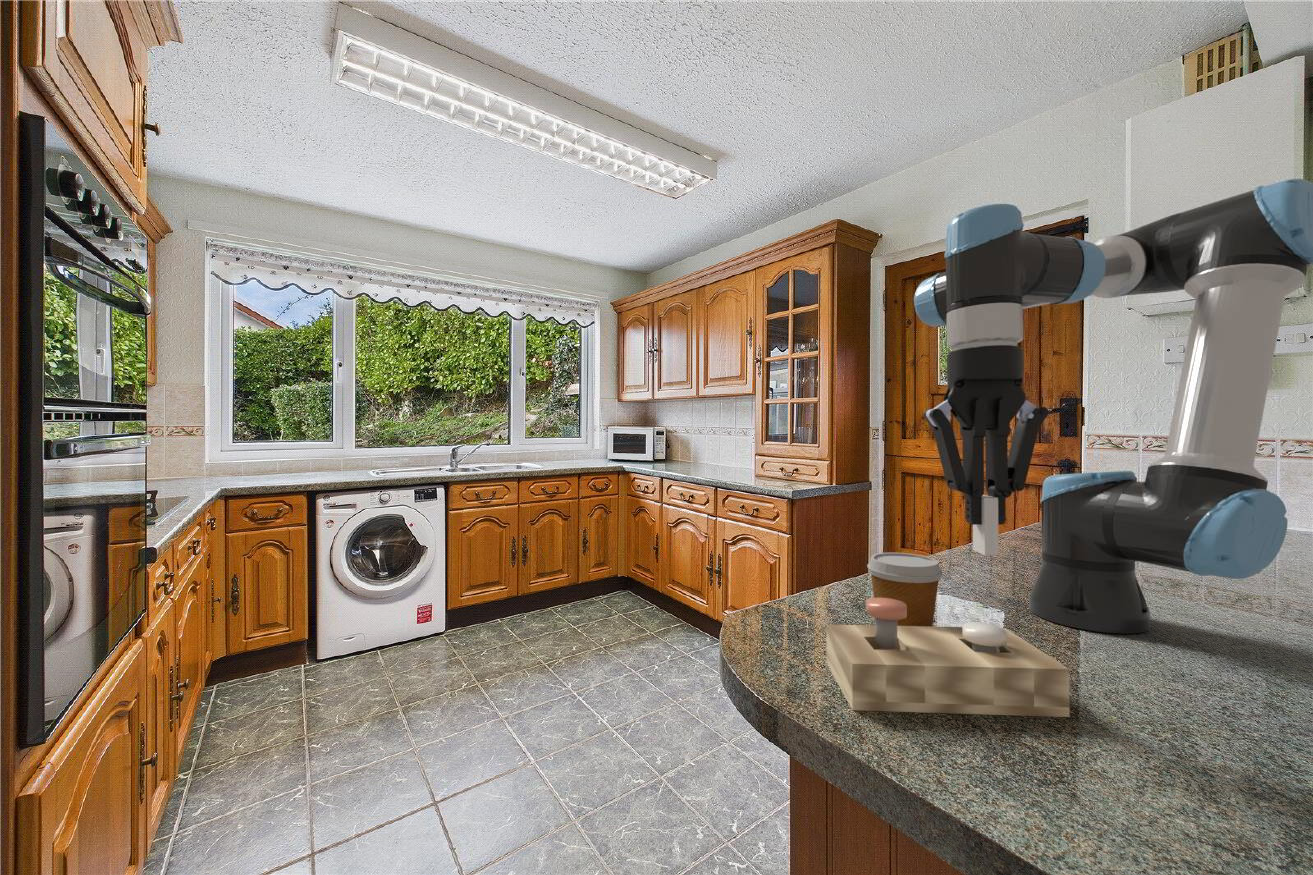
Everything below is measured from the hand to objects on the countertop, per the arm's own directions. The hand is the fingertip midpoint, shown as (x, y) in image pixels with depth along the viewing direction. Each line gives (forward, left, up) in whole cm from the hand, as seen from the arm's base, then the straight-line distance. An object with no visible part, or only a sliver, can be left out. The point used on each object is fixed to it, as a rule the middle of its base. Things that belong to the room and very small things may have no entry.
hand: (985, 552), depth 63 cm
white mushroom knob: (0, 0, -14) cm, 14 cm away
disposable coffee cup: (+5, -13, -16) cm, 21 cm away
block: (+6, 0, -16) cm, 17 cm away
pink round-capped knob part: (+11, 0, -11) cm, 16 cm away
